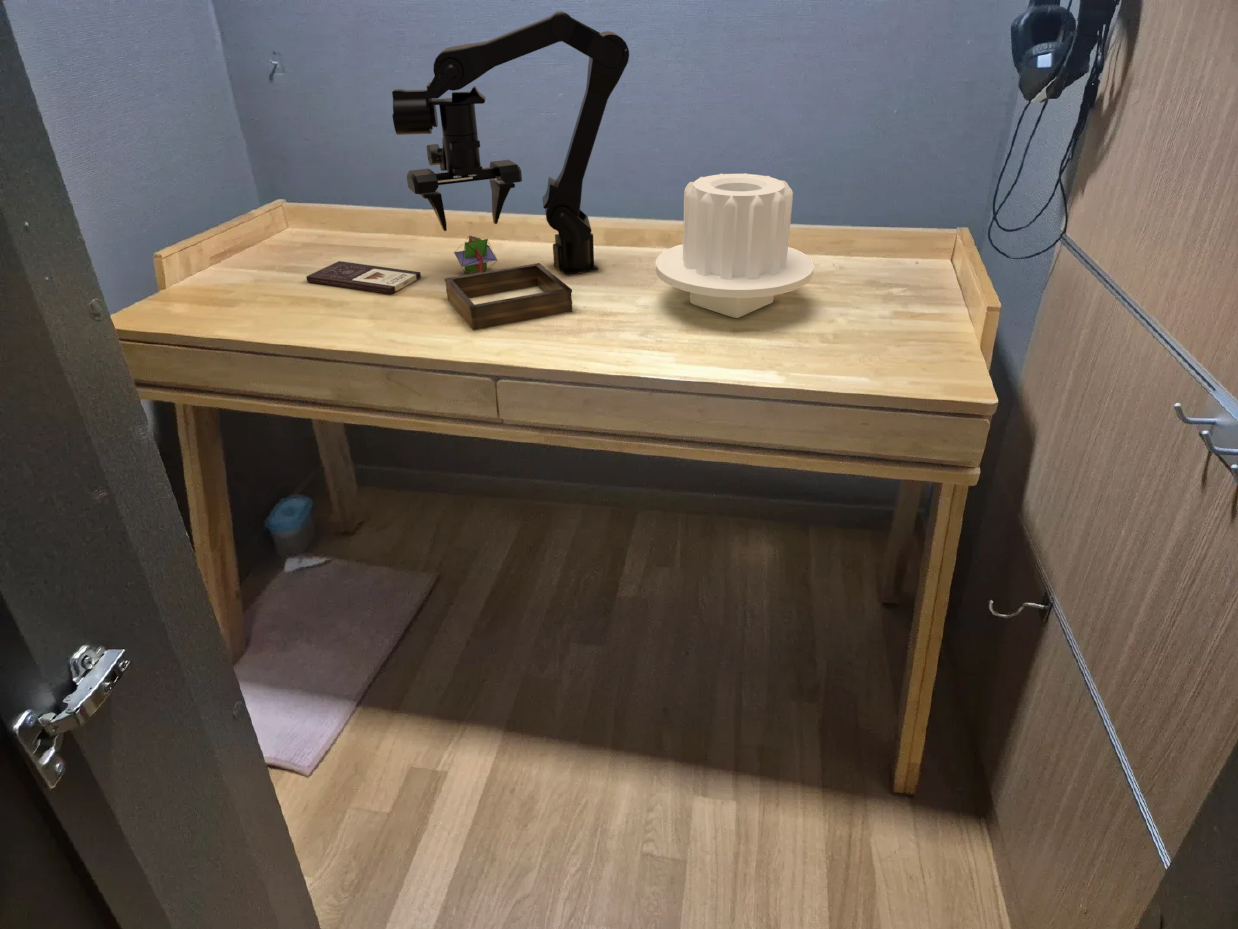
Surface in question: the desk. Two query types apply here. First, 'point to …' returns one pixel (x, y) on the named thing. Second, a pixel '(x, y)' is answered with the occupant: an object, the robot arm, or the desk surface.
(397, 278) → the chocolate bar
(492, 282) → the square wooden frame
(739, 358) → the desk surface
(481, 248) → the geometric puzzle
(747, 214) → the ribbed cylinder on disc
